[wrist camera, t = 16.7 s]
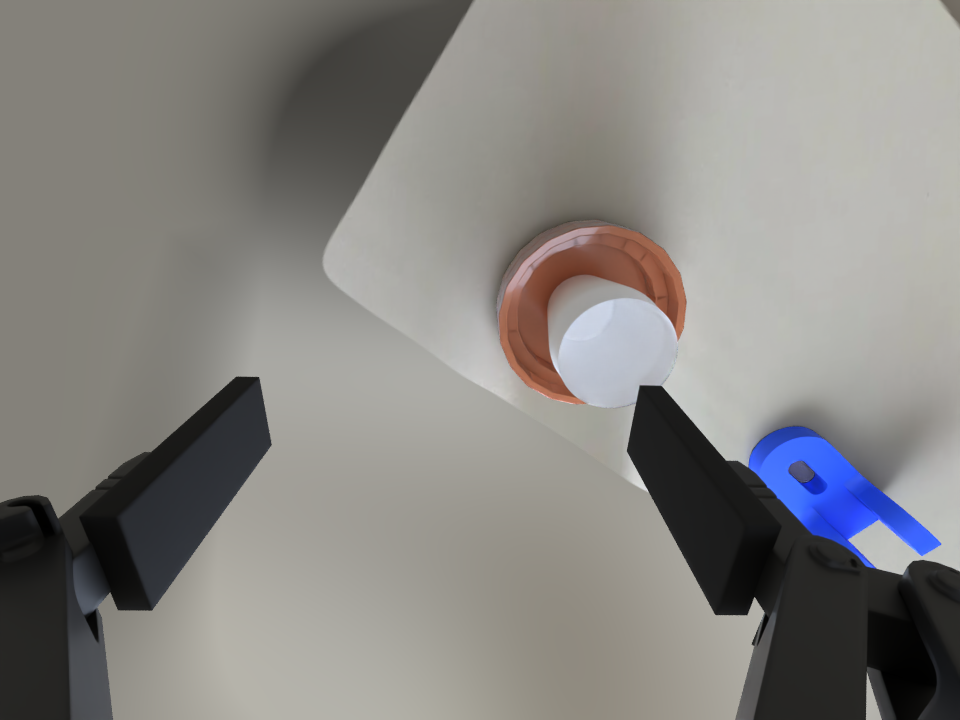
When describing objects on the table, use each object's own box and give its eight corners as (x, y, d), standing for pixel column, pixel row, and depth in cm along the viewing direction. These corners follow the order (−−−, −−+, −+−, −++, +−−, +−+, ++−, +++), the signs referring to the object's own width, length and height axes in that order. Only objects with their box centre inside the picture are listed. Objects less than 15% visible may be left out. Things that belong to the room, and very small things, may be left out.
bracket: (880, 496, 54) (953, 555, 46) (820, 536, 57) (879, 599, 48) (796, 413, 49) (861, 462, 41) (734, 460, 52) (784, 516, 43)
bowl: (465, 331, 45) (464, 350, 40) (561, 183, 39) (572, 185, 35) (594, 406, 49) (607, 431, 44) (698, 279, 43) (725, 292, 38)
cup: (643, 319, 44) (700, 370, 33) (564, 366, 46) (592, 429, 35) (600, 242, 41) (646, 269, 30) (517, 296, 43) (532, 341, 32)
